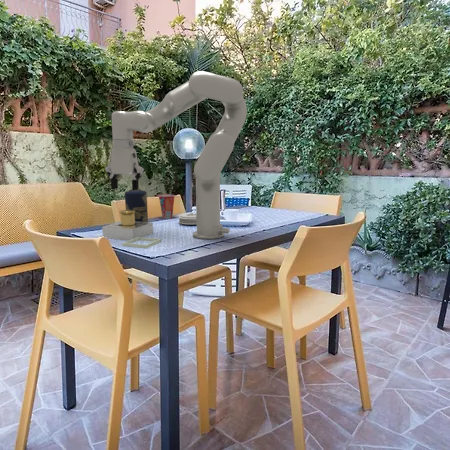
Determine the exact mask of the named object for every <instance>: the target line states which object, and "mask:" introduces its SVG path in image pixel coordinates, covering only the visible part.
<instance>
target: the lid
mask: <svg viewBox="0 0 450 450" xmlns="http://www.w3.org/2000/svg"><path fill="white" fill-rule="evenodd" d="M178 219H179V221H178V223H179V224H181V225H197V220H196V212H194V213H193V212H189V213H188V212H187V213H183V214H180V215H179V216H178Z"/></svg>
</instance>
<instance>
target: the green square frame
mask: <svg viewBox="0 0 450 450" xmlns="http://www.w3.org/2000/svg"><path fill="white" fill-rule="evenodd" d="M138 241H143V242H144V241H146V242H149V243H147V244H140V243H136V242H138ZM160 243H162V239H161V238H154V237H137V238H134V239H132V240H125V241H124V242H122V243H121V244H122V245H121V246H122V247H127V248H136V249H137V248H138V249H148V248H151V247H154V246H155V245H158V244H160Z"/></svg>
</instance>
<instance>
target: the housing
mask: <svg viewBox="0 0 450 450" xmlns="http://www.w3.org/2000/svg"><path fill="white" fill-rule="evenodd" d="M153 234H154V223H153V222H149V221H148V222H138V221H135V225H134V226H131V227H128V226H121V221H118V222H114V223H111V224H107V225H104V226H102V237H103V236H104V237H107V238H106V239H110V240H112V239H113V240H122V241H129V240H132V239H134V238H137V237H144V238H146V237H147V236H149V235H153Z"/></svg>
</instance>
